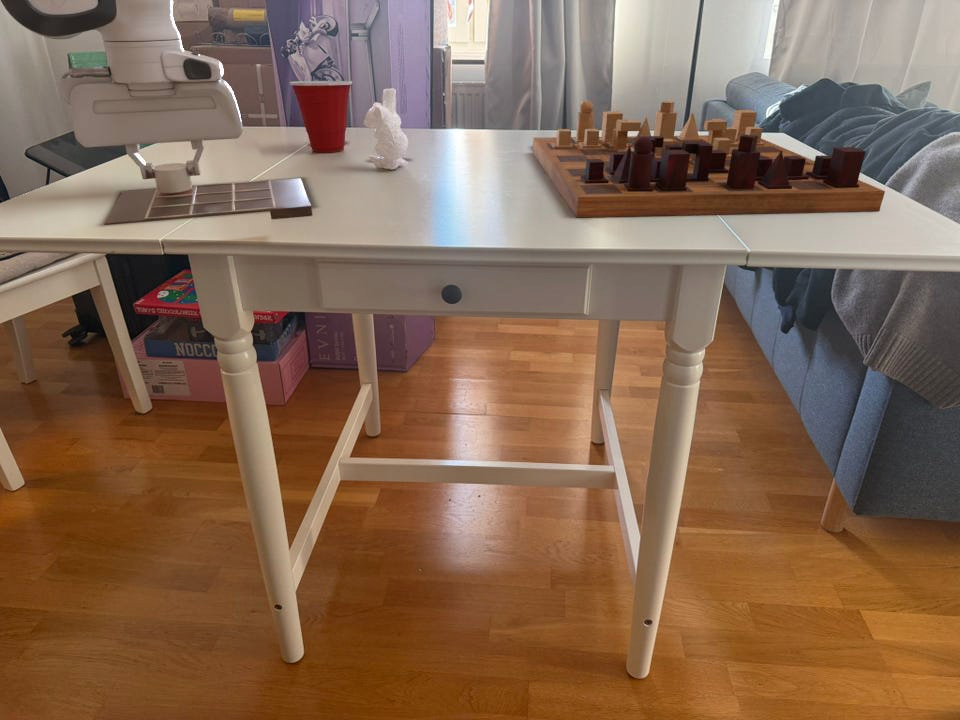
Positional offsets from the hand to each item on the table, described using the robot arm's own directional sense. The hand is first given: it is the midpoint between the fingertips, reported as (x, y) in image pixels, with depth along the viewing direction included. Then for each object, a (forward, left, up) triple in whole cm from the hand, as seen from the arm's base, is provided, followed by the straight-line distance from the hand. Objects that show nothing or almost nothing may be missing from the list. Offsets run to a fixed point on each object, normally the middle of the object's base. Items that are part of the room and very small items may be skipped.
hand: (172, 176), depth 91 cm
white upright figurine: (+32, +11, -4) cm, 34 cm away
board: (+5, -5, -3) cm, 8 cm away
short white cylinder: (0, 0, -2) cm, 2 cm away
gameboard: (+73, -10, -4) cm, 74 cm away
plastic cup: (+24, +29, -4) cm, 38 cm away
